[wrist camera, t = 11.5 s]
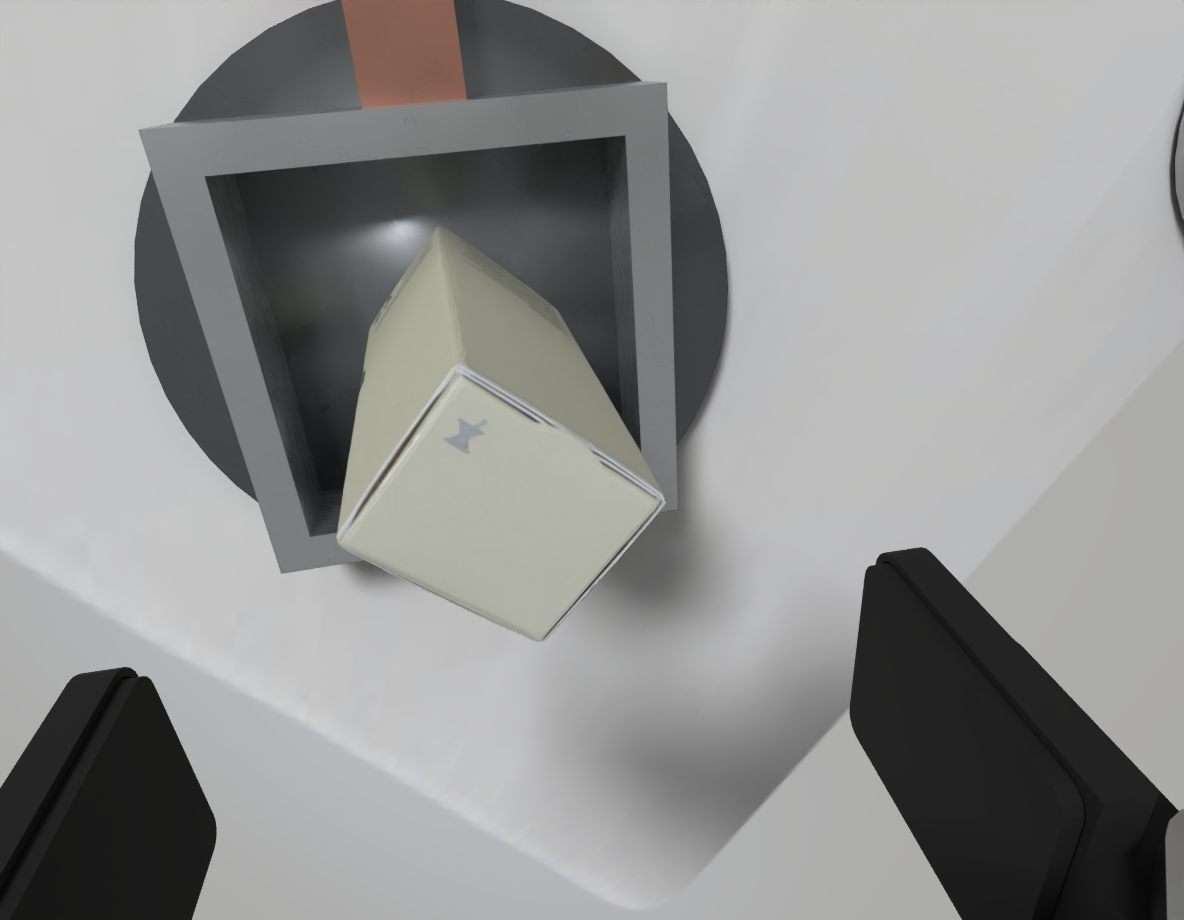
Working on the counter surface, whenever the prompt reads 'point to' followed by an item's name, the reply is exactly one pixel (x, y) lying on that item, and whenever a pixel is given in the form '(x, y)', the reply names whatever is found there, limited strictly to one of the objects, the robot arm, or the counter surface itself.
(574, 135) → the disc with square frame
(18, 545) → the counter surface
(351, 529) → the box
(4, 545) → the counter surface
